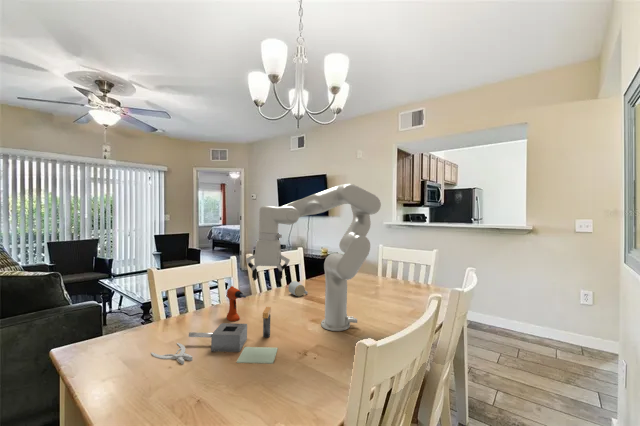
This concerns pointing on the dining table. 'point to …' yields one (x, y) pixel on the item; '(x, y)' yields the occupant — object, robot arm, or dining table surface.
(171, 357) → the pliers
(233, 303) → the toy drill
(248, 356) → the mat
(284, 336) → the dining table surface
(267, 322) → the chuck key
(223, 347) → the block
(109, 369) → the dining table surface
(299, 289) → the ceramic mug
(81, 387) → the dining table surface
